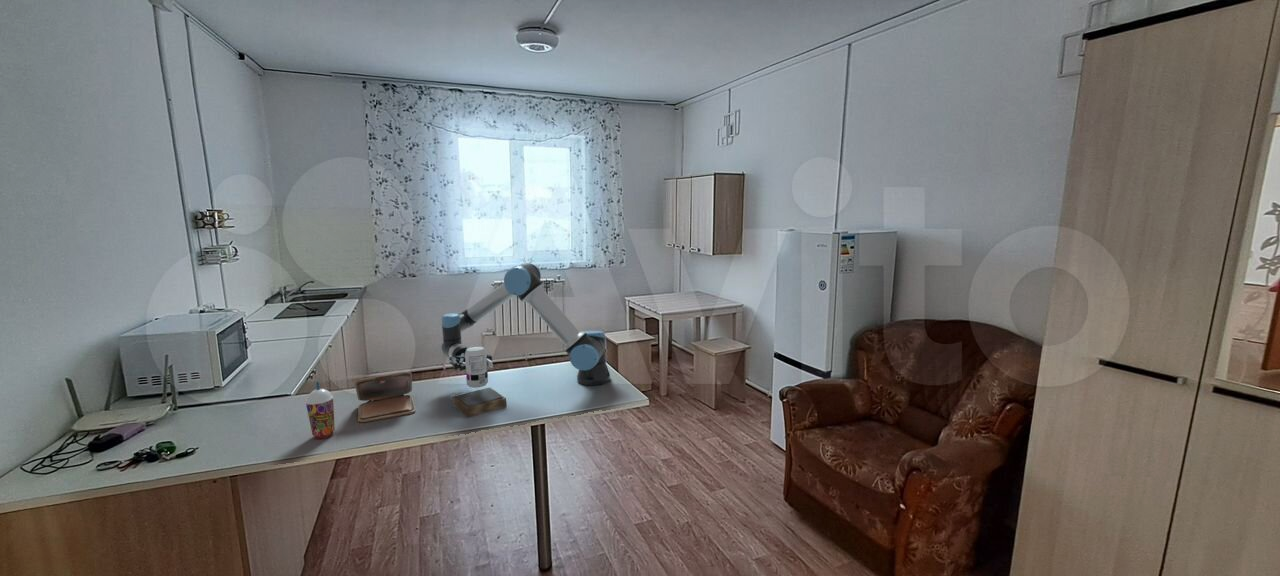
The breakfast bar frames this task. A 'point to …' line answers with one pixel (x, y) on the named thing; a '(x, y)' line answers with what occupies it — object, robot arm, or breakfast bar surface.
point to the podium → (479, 401)
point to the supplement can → (476, 366)
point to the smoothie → (321, 412)
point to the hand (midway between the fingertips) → (480, 367)
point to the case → (385, 396)
